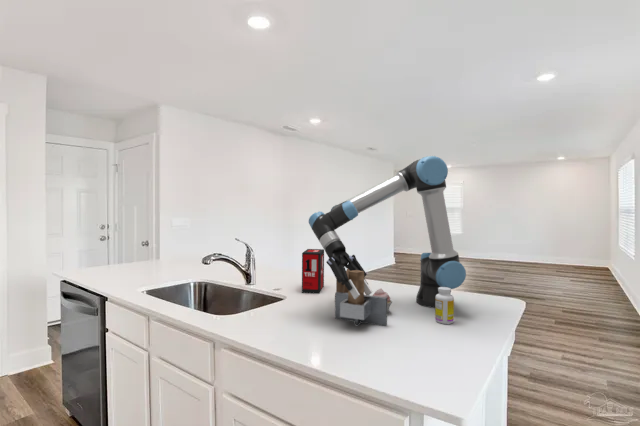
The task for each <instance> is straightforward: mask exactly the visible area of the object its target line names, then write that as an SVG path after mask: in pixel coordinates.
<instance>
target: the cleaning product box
mask: <svg viewBox="0 0 640 426" xmlns="http://www.w3.org/2000/svg"><path fill="white" fill-rule="evenodd" d="M324 279H325V250H324V248H320V249H318V248H307V249H306V250H304V251H303V252H302V253H301V294H314V295H315V294H318V295H319V294H321V292H322V290H323V288H324V287H325V280H324Z"/></svg>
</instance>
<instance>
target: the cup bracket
mask: <svg viewBox="0 0 640 426" xmlns="http://www.w3.org/2000/svg"><path fill="white" fill-rule="evenodd" d="M334 319H337V320H343V321H349V322H354V326H359V325H360V324H361V323H363V324H369V325H370V324H371V325H378V326H384V327H386V326H387V325H388V314H387V297H378V296H372V295H371V294H370V295H369V296H366V294H364V304H363V305H360V304H352V303H348V293H344V292H336V291H335V292H334Z"/></svg>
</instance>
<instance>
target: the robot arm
mask: <svg viewBox="0 0 640 426" xmlns="http://www.w3.org/2000/svg"><path fill="white" fill-rule="evenodd" d="M448 171H449V170H448V165H447V163H446V162H445V161H444V160H443V159H442V158H440V157H438V156H436V155H430V156H428V155H427V156H424V157H422V158H419V159H417V160H415V161H413V162H411V163H410V164H409V165H407V166H405V167H404V168H403V169H400V170H399V171H397V172H396V173H395V176H392V177H390V178H388V179H385V180H384V181H381V182H380V183H378V184H376V185H374V186H372V187H370V188H368V189H366V190H364V191H362V192H360V193H357V194H355V196H352V197H350V198H348V199H346V200H345V201H341V202H339V204H335V205H334V206H332V207H331V208H330V211H329V212H326V213H324V212H323V211H317V212H314V213H312V214H311V215H310V216H309V218H308V224H309V226H310V228H311V230H312V232H313V234H314V235H315V237H316V238H317V240H318V242H319V243H320V245H321V247H322V249H324V253H326V255H327V257H328V259H327V260H326V265H328V266H329V268H330V270H331V271H332V273H333V275H334V277H335V279H337V281H338V282H339V283H341V282H342V283H341V284H342V285H344V284H345V286H346V287H347V289H348V290H349V291H350V293H351V294H352V296H353V298H354V299H356V298H357V297H358V296H359V295H360V294H359V292H358V291H357V289H356V287H355V286H354V284H353V282H352V281H351V280H349V281H348V276H347V273H346V270H347V268H348V269H349V270H350V271H352V270H359V271H364V295H366V296H369V295H370V296H371V294H372V293H373V291H372V289H371V287H370V286H369V283H368V282H367V280H366V278H365V277H366V276H367V275H368V274H367V272H366V271H365V269H364V268H363V267H362V266H361V263H360V262H359V261H358V259H357V257H356V255H355V254H352V255H349V253H347V250H346V246H345V244H344V242H342V240H341V237H340V236H339V235H338V234H337V232H336V230H337V229H338V228H340V227H342V226H343V225H345V224H347V223H348V222H350V221H353V220H354V219H355V218H357V217H358V216H359V214H360V213H361V212H364V211H366V210H367V209H370V208H372V207H374V206H375V205H378V204H379V203H382V202H384V201H386V200H388V199H390V198H392V197H394V196H396V195H398V194H400V193H402V192H408V191H411V190H414V189H416V192H417V194H419V195H420V196H421V199H422V207H423V211H424V215H425V221H426V228H427V233H428V238H429V244H430V249H431V252H422V253H421V255H420V259H419V260H420V284H419V288H418V291H417V293H416V296H415V297H416V298H415V299H416V300H415V303H417V304H418V305H420V306H423V307H426V308H427V307H428V308H435V297H436V295H437V294H439V292H438V288H439V287H448V288H451V290H454V289H457V288H459V287H460V286H462V285H463V283H464V282H465V280H466V277H467V272H466V268H465V266H464V265H463V264H462V263H461V261H460V257H459V252H457V250H455V249H454V245H453V241H452V234H451V233H452V232H451V229H450V223H449V217H448V210H447V206H446V200H445V195H444V191H445V190H446V189H447V183H446V179H447V177H448V174H449V173H448Z"/></svg>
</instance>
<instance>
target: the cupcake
mask: <svg viewBox="0 0 640 426" xmlns="http://www.w3.org/2000/svg"><path fill="white" fill-rule="evenodd" d="M371 296H378V297H387V315H388V314H389V312H390V308H391V306H392V304H393V301H392V300H391V297H390V295H389V294H388V292H386V291H384V289H383V288H382V287H381V288H378V289H376V291H375V292H374V293H373V294H372V295H371Z"/></svg>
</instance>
